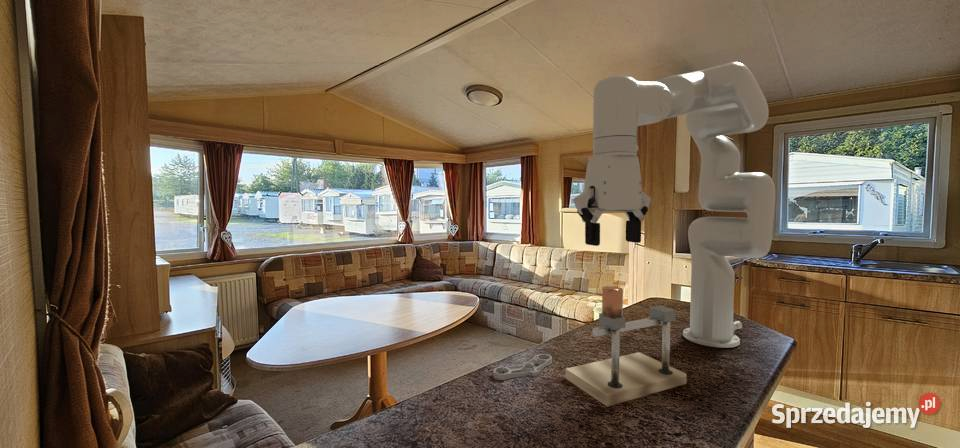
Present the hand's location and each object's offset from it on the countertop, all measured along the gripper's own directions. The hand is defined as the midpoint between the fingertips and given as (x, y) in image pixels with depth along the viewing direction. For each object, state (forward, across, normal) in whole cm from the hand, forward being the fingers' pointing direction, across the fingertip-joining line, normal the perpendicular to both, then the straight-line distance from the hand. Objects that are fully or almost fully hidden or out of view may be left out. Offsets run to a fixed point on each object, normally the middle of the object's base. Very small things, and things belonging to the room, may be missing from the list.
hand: (613, 243), depth 71 cm
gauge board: (+28, -6, -2) cm, 29 cm away
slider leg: (+26, 0, 0) cm, 26 cm away
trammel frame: (+26, -5, 0) cm, 27 cm away
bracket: (+29, +10, -16) cm, 34 cm away
